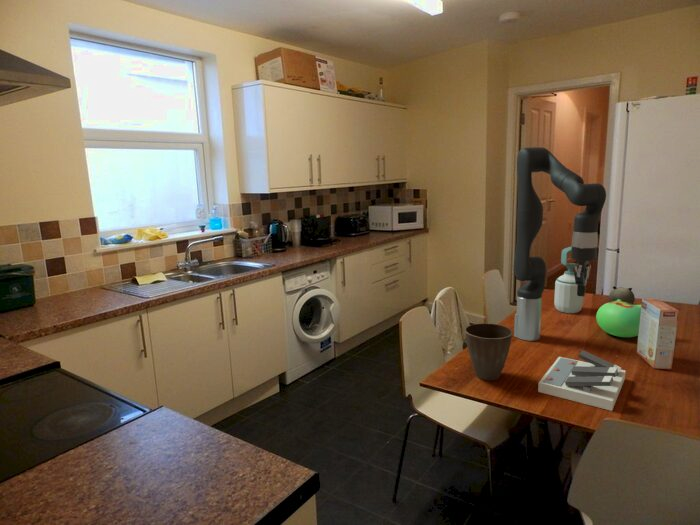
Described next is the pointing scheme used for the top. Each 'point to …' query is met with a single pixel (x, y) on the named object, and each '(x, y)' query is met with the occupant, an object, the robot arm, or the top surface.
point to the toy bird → (619, 318)
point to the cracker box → (657, 333)
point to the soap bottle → (567, 288)
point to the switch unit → (583, 394)
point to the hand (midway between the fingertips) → (580, 295)
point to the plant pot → (488, 348)
